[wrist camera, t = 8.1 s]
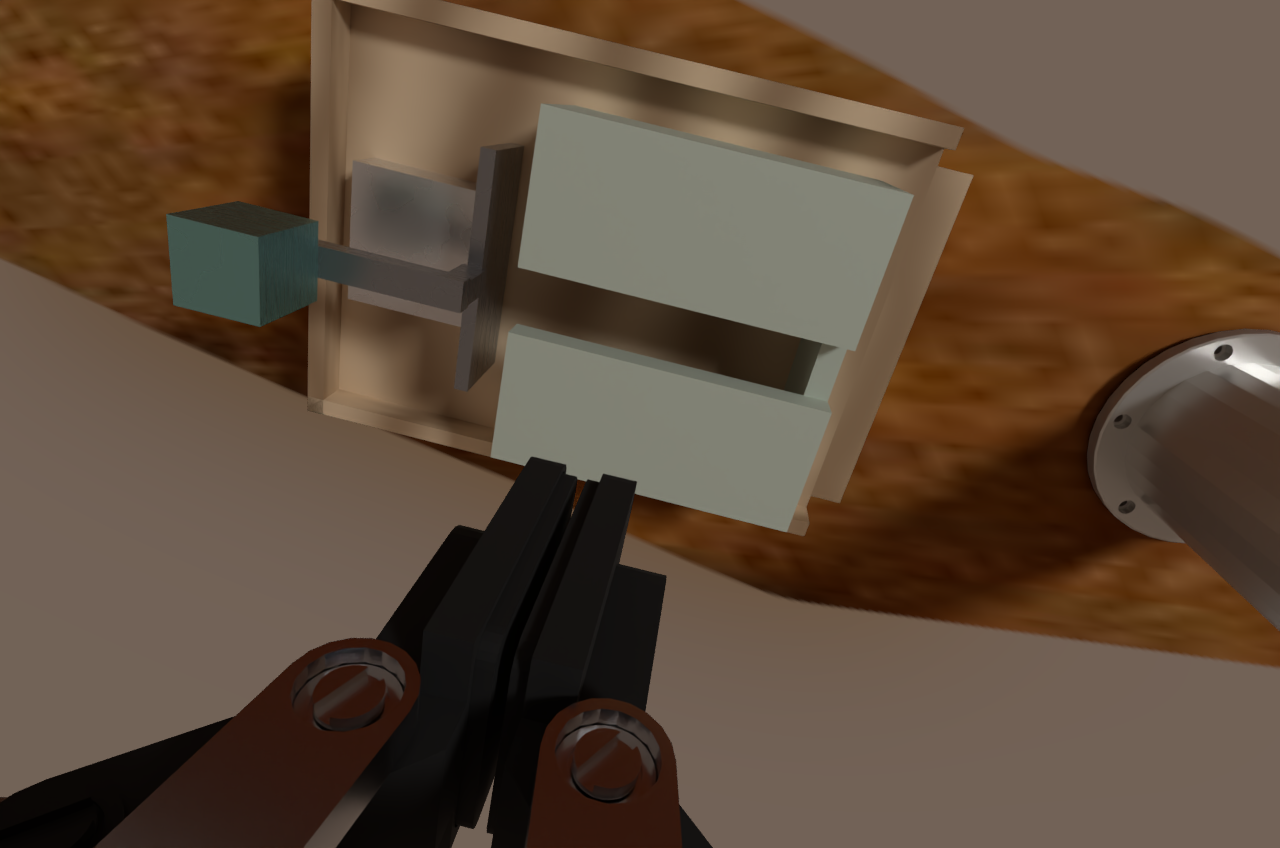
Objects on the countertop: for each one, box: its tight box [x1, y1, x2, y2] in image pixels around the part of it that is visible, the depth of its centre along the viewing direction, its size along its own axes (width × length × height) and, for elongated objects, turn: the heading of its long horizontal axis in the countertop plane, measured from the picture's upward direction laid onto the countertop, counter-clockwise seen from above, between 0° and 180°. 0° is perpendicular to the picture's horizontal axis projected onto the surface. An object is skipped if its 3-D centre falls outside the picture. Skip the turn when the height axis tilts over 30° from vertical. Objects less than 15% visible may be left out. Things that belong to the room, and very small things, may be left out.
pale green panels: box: [491, 104, 914, 532], centre depth 29 cm, size 13×14×6 cm
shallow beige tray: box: [308, 0, 973, 536], centre depth 34 cm, size 27×19×8 cm
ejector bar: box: [166, 143, 524, 392], centre depth 27 cm, size 8×10×10 cm
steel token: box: [348, 158, 477, 327], centre depth 31 cm, size 6×6×2 cm
